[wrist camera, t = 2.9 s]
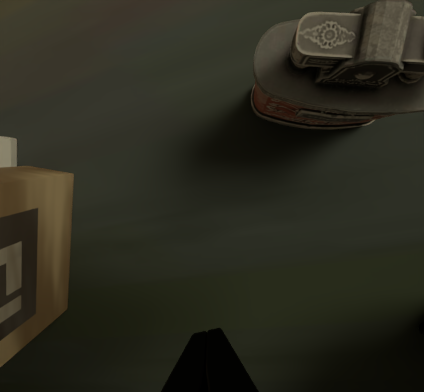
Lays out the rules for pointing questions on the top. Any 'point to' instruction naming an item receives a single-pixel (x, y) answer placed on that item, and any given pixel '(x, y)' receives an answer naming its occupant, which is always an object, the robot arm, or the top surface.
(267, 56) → the lighter
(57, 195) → the letter block
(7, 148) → the felt mat
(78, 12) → the top surface
